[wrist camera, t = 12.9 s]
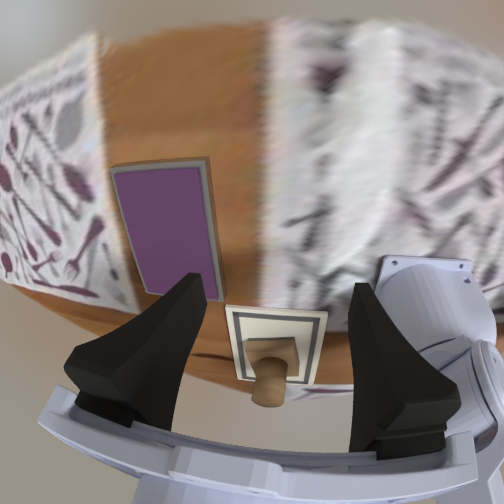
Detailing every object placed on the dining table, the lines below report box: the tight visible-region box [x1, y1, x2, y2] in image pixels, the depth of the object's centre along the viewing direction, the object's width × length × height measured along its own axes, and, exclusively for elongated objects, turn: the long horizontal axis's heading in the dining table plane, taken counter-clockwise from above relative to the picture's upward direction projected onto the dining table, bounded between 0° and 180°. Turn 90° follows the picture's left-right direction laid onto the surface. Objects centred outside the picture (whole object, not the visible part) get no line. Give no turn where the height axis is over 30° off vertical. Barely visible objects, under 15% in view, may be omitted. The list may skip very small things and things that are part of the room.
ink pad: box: [110, 157, 227, 302], centre depth 24 cm, size 8×13×1 cm, turn 3°
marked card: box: [225, 304, 328, 386], centre depth 31 cm, size 10×14×1 cm
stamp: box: [245, 337, 300, 407], centre depth 28 cm, size 5×5×6 cm
